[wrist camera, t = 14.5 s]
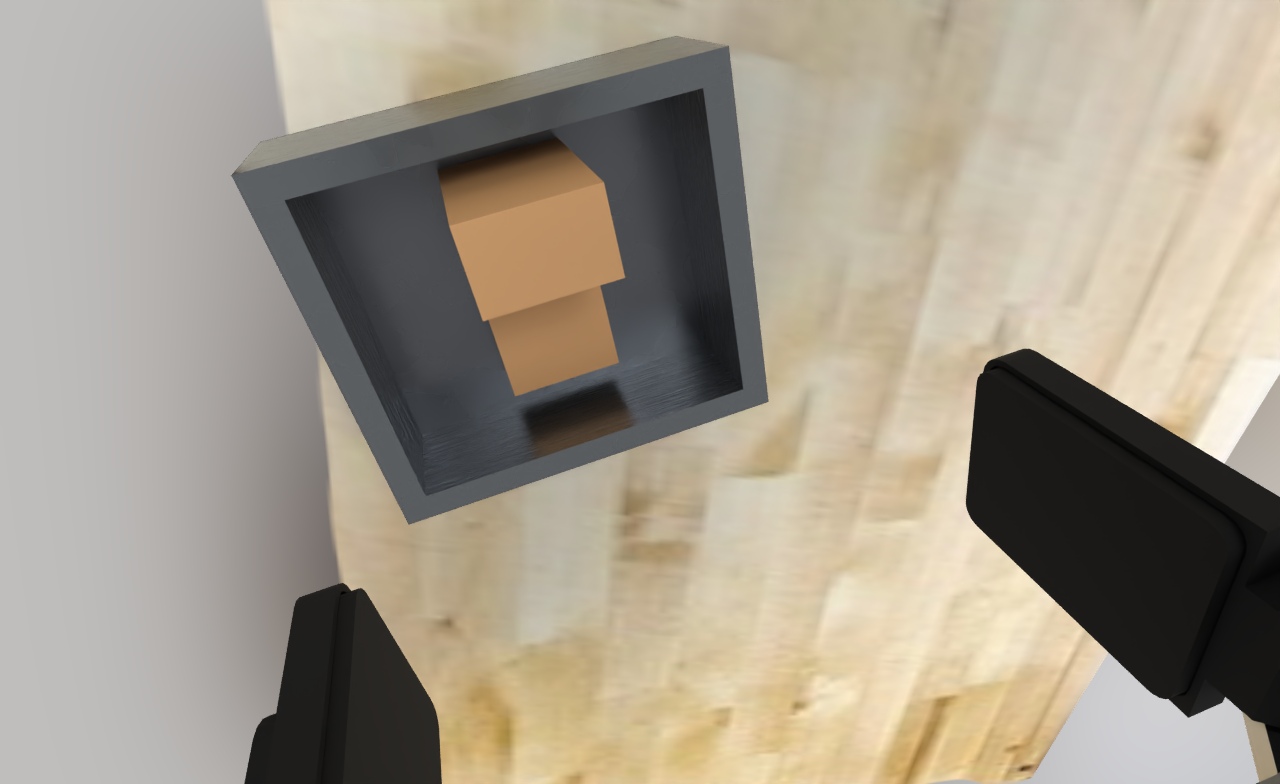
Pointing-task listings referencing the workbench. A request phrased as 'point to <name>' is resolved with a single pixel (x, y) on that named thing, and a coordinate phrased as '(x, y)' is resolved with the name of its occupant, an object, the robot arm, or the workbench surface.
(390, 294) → the well box
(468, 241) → the tan stepped block
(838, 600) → the workbench surface
